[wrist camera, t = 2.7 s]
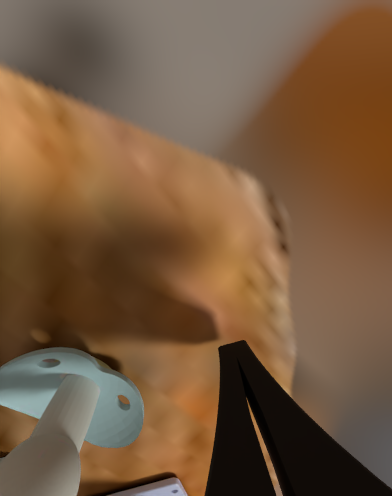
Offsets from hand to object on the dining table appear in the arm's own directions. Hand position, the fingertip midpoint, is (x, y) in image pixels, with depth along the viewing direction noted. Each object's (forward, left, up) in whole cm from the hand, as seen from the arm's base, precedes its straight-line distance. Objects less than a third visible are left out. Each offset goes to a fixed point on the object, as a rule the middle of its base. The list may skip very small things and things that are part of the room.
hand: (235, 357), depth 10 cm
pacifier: (0, +9, -2) cm, 9 cm away
